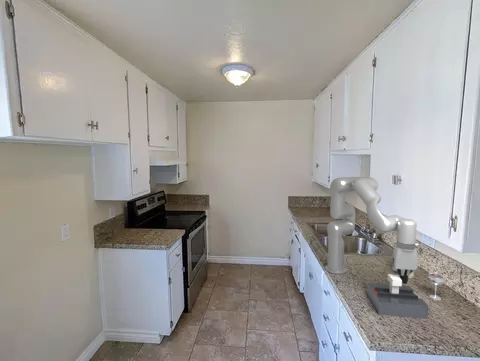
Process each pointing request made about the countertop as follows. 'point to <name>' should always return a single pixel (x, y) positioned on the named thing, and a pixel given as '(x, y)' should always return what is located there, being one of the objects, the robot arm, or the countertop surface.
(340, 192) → the robot arm
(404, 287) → the slider base
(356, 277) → the countertop surface
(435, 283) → the wineglass
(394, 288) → the handle
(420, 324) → the countertop surface
